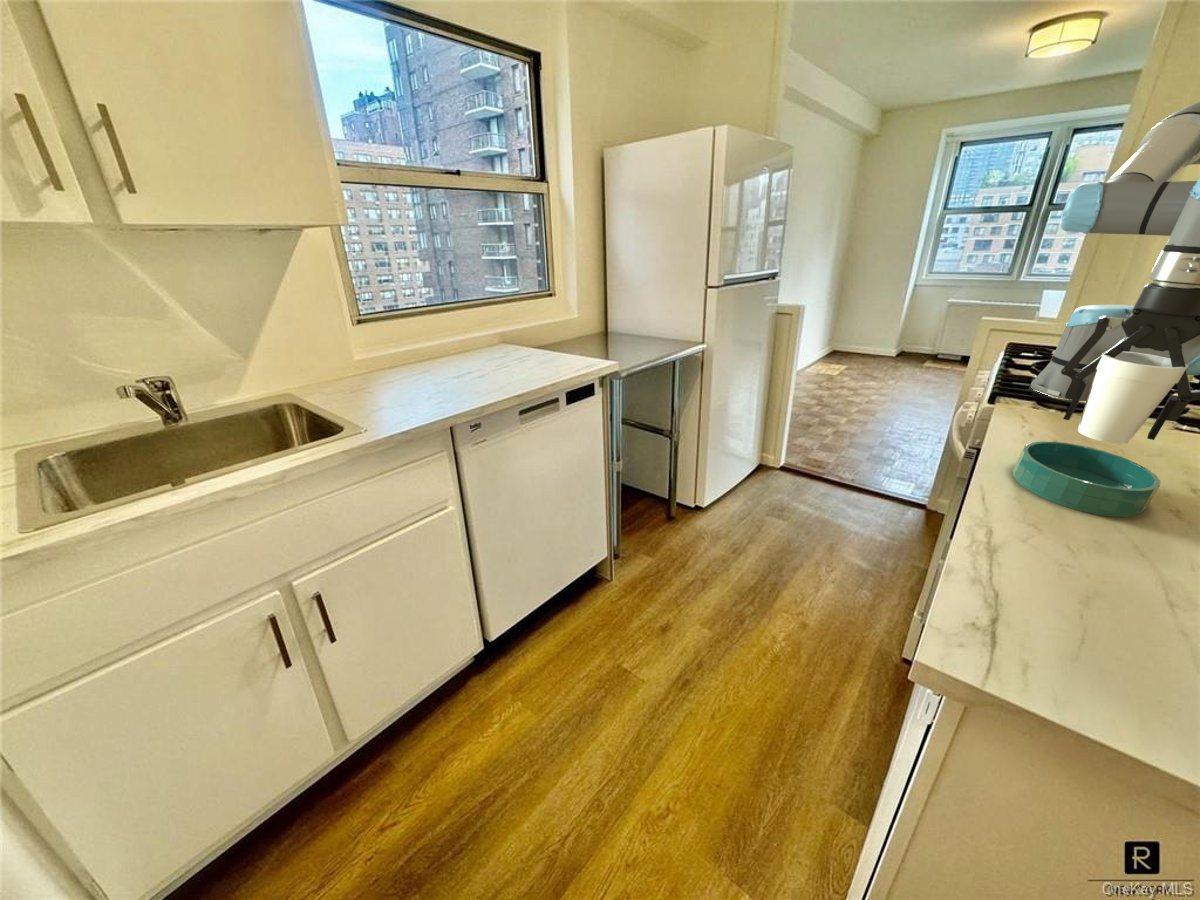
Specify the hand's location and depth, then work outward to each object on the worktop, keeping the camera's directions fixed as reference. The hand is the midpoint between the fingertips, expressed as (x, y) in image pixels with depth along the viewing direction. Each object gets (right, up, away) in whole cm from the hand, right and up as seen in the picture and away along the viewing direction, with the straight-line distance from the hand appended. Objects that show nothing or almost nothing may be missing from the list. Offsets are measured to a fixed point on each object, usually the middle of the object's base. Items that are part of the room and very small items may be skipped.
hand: (1107, 426), depth 79 cm
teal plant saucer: (0, -11, +5) cm, 12 cm away
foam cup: (0, -2, +1) cm, 2 cm away
